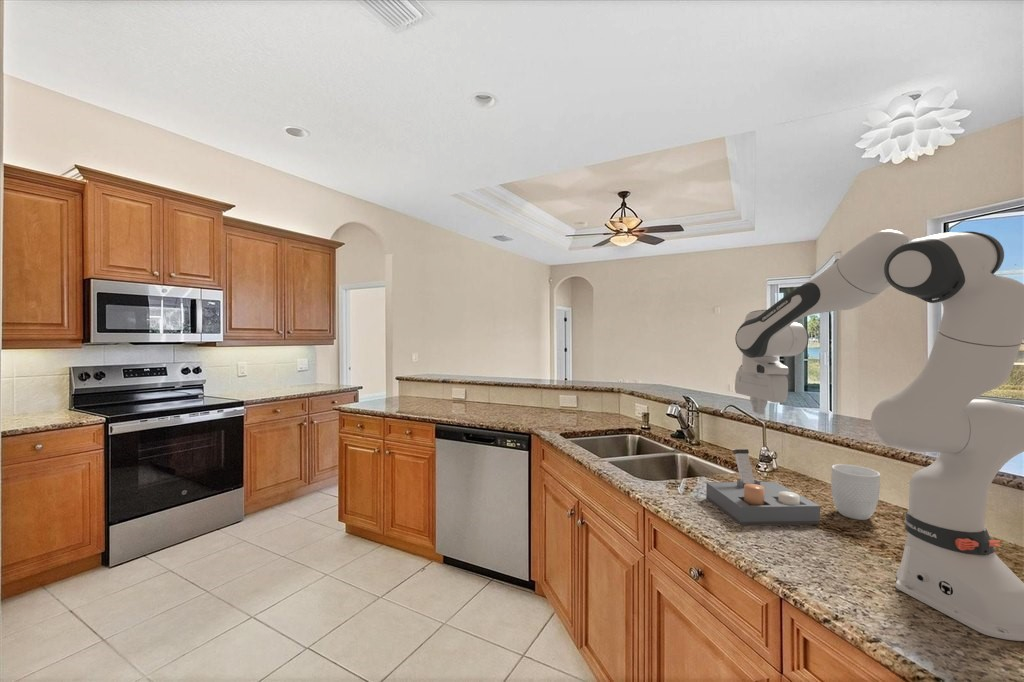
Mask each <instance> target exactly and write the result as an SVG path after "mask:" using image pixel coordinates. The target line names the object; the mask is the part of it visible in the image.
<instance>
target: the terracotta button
mask: <svg viewBox="0 0 1024 682" xmlns="http://www.w3.org/2000/svg"><path fill="white" fill-rule="evenodd" d="M764 494H765V488H764V487H763V486H760V485H757V484H745V485H744V502H745V503H747V504H748V505H764Z"/></svg>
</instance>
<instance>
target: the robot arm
mask: <svg viewBox="0 0 1024 682" xmlns="http://www.w3.org/2000/svg"><path fill="white" fill-rule="evenodd" d="M1004 259H1005V250H1004V247H1003V245H1002V243H1001V242H1000V241H999V240H998V239H996V238H995V237H994V236H992V235H990V234H987V233H984V232H979V231H969V230H968V231H960V232H959V231H958V232H944V233H943V232H942V233H936V234H933V235H932V234H931V235H929V236H924V237H919V238H918V237H917V238H915V239H913V238H911V237H910V236H909V235H907V234H906V233H903V232H901V231H898V230H894V229H885V230H883V229H882V230H879V231H877V232H875V233H873V234H871V235H870V236H869V237H866V238H865V239H863V240H862V241H860V242H859V243H857V244H856V245H855V246H853V247H852V248H851V249H850V250H848V251H847V252H846V253H845V254H844V255H842V256H841V257H840V258H839V259H838V260H836V262H834V263H832V265H831V266H829V267H828V268H827V269H825V270H824V271H822V272H821V273H819V274H818V275H817V276H815V277H814V278H812V279H810V280H809V281H807V282H806V283H803V284H802V285H800V286H798V287H797V288H796V287H795V288H794V289H792V291H790V292H789V293H787V294H786V295H785V296H784V297H782V298H780V300H778V301H777V302H775V303H774V304H773V305H772V306H770V307H769V308H768V309H760V310H753V311H750V312H748V313H747V314H746V315H745V318H744V322H743V323H742V324H741V325H740V326H739V327H738V329H737V331H736V333H735V337H734V338H735V344H736V346H737V348H738V350H739V351H740V352H741V354H742V359H741V360H742V361H741V364H740V366H739V367H738V369H737V371H736V373H735V381H734V392H735V394H738V395H743V396H747V397H749V400H750V401H749V402H750V403H751V404H750V405H751V406H752V412H753V413H755V414H758V415H764V414H765V408H766V407H767V404H768V402H772V403H785V402H786V401H787V399H788V396H789V395H788V393H789V380H788V377H787V375H789V371H790V370H789V367H788V366H787V365H785V364H784V363H782V362H781V361H779V360H778V357H795V356H799V355H802V353H803V352H804V351H805V350H806V349H807V347H808V345H809V339H810V336H809V333H808V331H807V328H806V327H805V326H804V325H803V324H802V323H801V322H798V321H799V320H801V319H804V318H806V317H808V316H813V315H816V314H823V313H830V312H841V311H848V310H849V311H850V310H853V309H855V308H858V307H860V306H862V305H864V304H866V303H869V302H870V301H871V300H873V299H875V298H876V297H877V296H879V295H880V294H881V293H883V292H884V291H885V290H887V288H889V287H890V286H892V287H893V288H894V289H895V290H898V291H899V292H902V293H905V294H907V295H910V296H912V297H913V296H914V297H916V298H918V299H920V300H922V301H924V302H926V303H929V304H937V303H941V304H942V308H943V310H942V311H943V313H942V317H941V320H940V324H939V326H938V328H937V329H938V330H937V333H936V336H935V339H934V342H933V345H932V348H931V351H930V353H929V357H928V359H927V362H926V364H925V365H924V367H923V369H922V370H921V371H920V373H919V374H918V375H917V376H916V377H915V378H914V379H913V380H912V381H911V382H910V383H909V384H908V385H907V386H906V387H904V388H903V389H902V390H901V391H899V392H897V393H896V394H894V395H892V396H890V397H888V398H885V399H883V400H881V401H880V402H878V403H877V404H876V406H875V407H874V408H873V411H872V413H871V417H870V424H871V428H872V431H873V433H874V434H875V436H876V438H877V439H879V440H880V441H881V442H882V444H884V445H886V446H889V447H893V448H898V449H901V450H907V451H912V452H920V453H921V452H923V453H924V452H925V453H937V454H938V453H939V455H938V456H937V458H936V459H935V460H934V461H933V462H932V463H931V464H930V465H927V466H926V467H922V468H920V469H918V470H917V471H915V472H914V473H913V474H912V476H911V478H910V479H909V489H908V490H909V491H908V492H909V493H908V495H909V497H908V510H907V511H906V512H905V518H904V524H905V525H904V529H905V530H906V539H905V542H904V543H905V544H904V548H903V552H902V557H901V562H900V564H899V567H898V569H897V572H896V573H895V576H896V582H895V588H896V589H897V590H899V591H901V592H903V593H904V594H907V595H908V596H911V597H912V598H914V599H915V600H918V601H919V602H922V603H924V604H926V605H927V606H929V607H931V608H933V609H935V610H937V611H939V612H940V613H942V614H944V615H946V616H948V617H950V618H951V619H954V621H955V620H956V621H958V622H959V623H961V624H963V625H965V626H966V627H969V628H970V629H973V630H975V631H976V632H978V633H980V634H982V635H985V636H988V637H993V638H997V639H1002V640H1008V641H1017V642H1024V582H1023V581H1022V580H1021V579H1020V578H1019V577H1018V576H1017V575H1016V574H1015V573H1014V572H1013V571H1012V570H1011V568H1009V567H1008V565H1007V564H1005V562H1004V561H1003V560H1001V558H999V556H997V554H996V553H995V551H996V550H995V547H1001V544H999V543H1001V542H1002V540H999V539H991V537H990V534H989V532H988V529H987V528H986V527H985V525H986V524H985V522H986V510H987V509H986V508H987V500H988V495H989V494H988V493H989V490H990V487H991V485H992V482H993V481H994V479H995V477H997V475H998V473H999V472H1000V470H1001V469H1003V467H1004V466H1005V465H1006V464H1007V463H1008V462H1009V461H1010V460H1011V459H1013V458H1014V457H1016V456H1018V455H1020V454H1022V453H1023V452H1024V408H1022V407H1021V406H1018V405H1016V404H1012V403H1011V404H1010V403H1007V402H1006V403H1005V402H1002V401H997V400H990V399H986V398H985V399H983V398H982V399H980V398H978V397H979V396H981V395H983V394H986V393H988V392H991V391H993V390H995V389H997V388H999V387H1001V386H1003V385H1004V384H1005V383H1006V382H1007V381H1008V380H1009V378H1010V375H1011V373H1012V370H1013V367H1014V364H1015V362H1016V359H1017V357H1018V354H1019V351H1020V348H1021V346H1022V343H1023V340H1024V283H1023V282H1021V281H1019V280H1018V279H1017V280H1016V279H1015V278H1011V277H1007V276H1000V275H996V274H995V273H996V272H998V271H999V269H1000V268H1001V266H1002V264H1003V261H1004ZM977 398H978V399H977Z"/></svg>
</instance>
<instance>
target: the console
mask: <svg viewBox="0 0 1024 682" xmlns="http://www.w3.org/2000/svg"><path fill="white" fill-rule="evenodd" d="M754 481H755V483H753V484H757V485H760V486H763V487H764V488H765V494H764V505H748V504H747V503H745V502H744V486H743V482H744V481H742V480H741V479H740V478H737V481H731V482H730V481H729V482H727V481H724V482H723V481H720V482H719V481H718V482H712V481H710V482H706V491H705V493H706V495H705V497H706V500H708V501H709V502H710V503H712V505H714V506H715V507H716V508H718V509H719V510H720V511H722V512H723V513H724V514H725V515H727V516H728V517H729V518H730V519H731V520H733V521H734V522H735V521H736V523H737V524H738V525H739V524H740V525H742V526H787V525H788V526H793V525H795V526H798V525H799V526H800V525H801V526H803V525H807V526H808V525H820V524H821V505H819V504H817V503H816V502H814V501H812V500H810V499H808V498H806V497H805V496H803V495H801V494H799V493H797V492H795V491H793V490H792V489H790V488H787V487H786V486H784V485H782V484H781V483H779V482H776V481H761V480H759V479H757V478H754ZM781 491H787V492H792V493H796V494H798V495H799V496H800V504H799V505H785V504H783V503H781V502H780V501H778V496H779V492H781Z"/></svg>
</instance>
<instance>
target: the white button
mask: <svg viewBox="0 0 1024 682" xmlns="http://www.w3.org/2000/svg"><path fill="white" fill-rule="evenodd" d="M796 493H797V492H795V493H792V492H787V491H781V492H779V496H778V501H780V502H781V503H783V504H785V505H799V504H800V496H799V495H800V494H799V493H797V494H796ZM798 494H799V495H798Z"/></svg>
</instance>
